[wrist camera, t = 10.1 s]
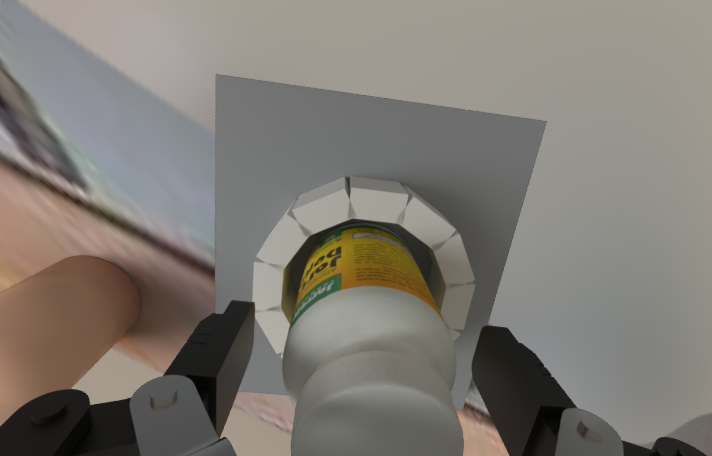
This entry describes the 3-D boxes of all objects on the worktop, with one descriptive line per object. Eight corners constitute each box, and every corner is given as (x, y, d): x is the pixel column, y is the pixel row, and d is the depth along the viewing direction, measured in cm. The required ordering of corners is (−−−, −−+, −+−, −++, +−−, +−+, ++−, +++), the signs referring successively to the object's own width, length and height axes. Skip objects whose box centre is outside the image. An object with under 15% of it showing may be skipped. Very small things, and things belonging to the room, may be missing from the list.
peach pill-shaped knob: (51, 332, 19) (-72, 425, 14) (36, 250, 18) (-109, 316, 12) (143, 341, 20) (62, 434, 14) (137, 260, 18) (42, 329, 12)
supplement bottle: (385, 332, 18) (424, 557, 9) (289, 296, 17) (225, 503, 8) (434, 245, 17) (541, 409, 8) (332, 200, 16) (312, 325, 7)
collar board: (223, 369, 20) (196, 429, 17) (227, 77, 15) (189, 66, 12) (454, 389, 21) (478, 449, 18) (529, 120, 16) (584, 123, 13)
